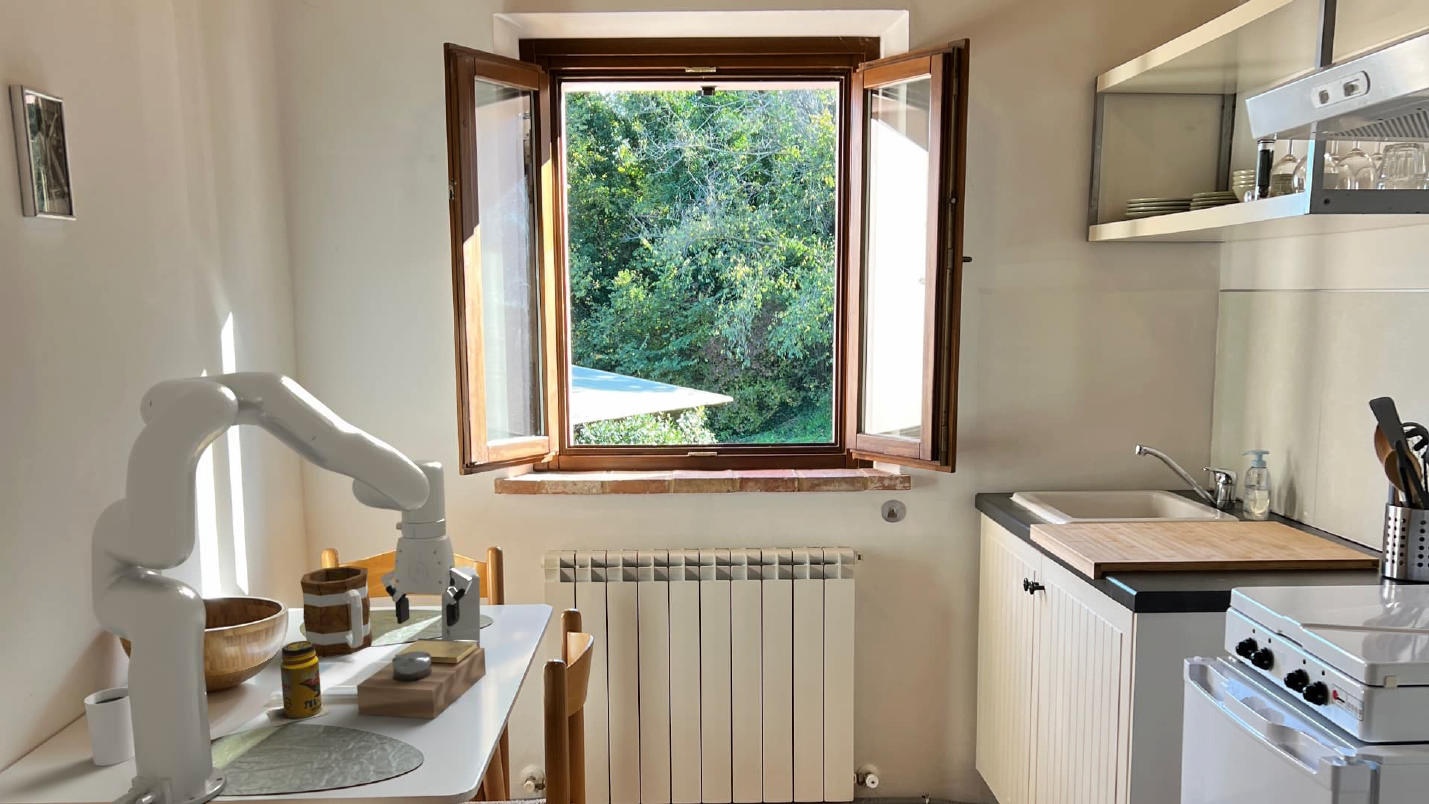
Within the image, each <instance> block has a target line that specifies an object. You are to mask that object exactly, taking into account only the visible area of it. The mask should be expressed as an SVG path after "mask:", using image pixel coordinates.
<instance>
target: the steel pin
mask: <svg viewBox="0 0 1429 804" xmlns="http://www.w3.org/2000/svg"><path fill="white" fill-rule="evenodd" d="M391 662H392V666H393V678H394V680H396V681H400V682H411V681H419V680H421V679H424V678H426V677H428V676H429V675H431V673H432V670H431V655H430V654H429V653H427V652H419V651H418V652H408V653H404V654H400V655H398V656H395V657H393V658H392V659H391Z"/></svg>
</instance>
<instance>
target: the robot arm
mask: <svg viewBox="0 0 1429 804" xmlns="http://www.w3.org/2000/svg"><path fill="white" fill-rule="evenodd" d="M139 412H140V416H141V419H142V420H143V423H144V424H145V426H144V427H143V428H142V430H141V431H140V432H139V434H138V436H137V437H136V438H135V441H134V442H133V445H132V446H131V448H130V452H129V456H128V460H127V465H126V466H127V467H126V482H125V496H124V498H121V499H120V498H119V499H118V500H116V501H113V502H112V503H110V504H109V505H108V506H106V508H104V509H103V511H102V512H101V513H100V514H99V516H98V518H97V520H96V522H95V524H94V527H93V530H92V535H91V548H90V549H91V551H90V552H91V553H90V554H91V559H90V560H91V561H90V562H91V565H90V566H91V604H92V610H93V615H94V617H95V620H96V622H97V623H98V625H99V626H101V628H102V629H104V630H105V631H106V632H108V633H110V634H111V635H114V636H116V637H119V638H122V639H125V640H127V641H129V642H130V649H131V650H130V657H129V660H128V667H127V688H128V693H129V699H130V709H131V720H132V730H133V740H134V751H135V756H134V758H135V759H134V761H135V769H136V770H135V771H136V776H134V777H132V778H131V787H130V788H129V789H128V790H127V791H128V792H126V793H124V794H122V795H121V796H120V797H118V798H116V799H115V800H114V801H112V802H111V804H204V803H207V801H210V800H212V799H213V798H215V796H218V795H219V794H220V793H221V792H222V791H223V790H224V788H225V787H226V784H227V776H226V773H225V771H223V770H222V769H221V768H219V767H215V766H213V751H212V743H211V730H210V728H211V727H210V719H209V717H210V716H209V706H208V696H207V694H208V693H207V685H206V683H207V682H206V677H205V665H204V664H205V663H204V645H205V643H204V642H205V630H206V624H207V623H206V622H207V613H206V606H205V603H204V600H203V598H202V596H201V595H200V594H199V593H198V591H197V590H196V589H194V588H193V587H192V586H191V585H189V584H187V583H186V582H184V581H181V580H179V579H175V578H171V577H167V576H164V575H163V574H162V572H163V570H170V569H173V568H174V569H175V568H176V567H177V568H178V567H179V566H181V565H182V564H184V563H185V562H186V561H187V560H188V559H189V558H190V556H191V554H192V553H193V551H194V547H195V543H196V493H195V492H196V477H197V476H196V475H197V469H198V464H199V461H200V459H201V457H202V455H203V454H204V452H205V451H206V450H207V448H209V446H210V445H211V444H213V442H214V441H215V440H217V439H218V438H220V437H221V436H222V435H224V434H225V433H226V432H227V431H229V429H230V428H231V427H234V426H241V425H242V426H243V425H246V426H247V425H248V426H257V427H259V428H261V429H263V430H264V431H266V432H267V433H269V434H270V435H272V436H273V437H275V438H276V439H277V440H279V442H282V443H283V444H284V445H286V446H287V447H288V448H289V449H291V450H292V451H293V452H295V453H296V454H297V455H298V456H300V457H301V458H303V459H304V460H305V461H307V462H309V463H311V464H313V465H315V466H316V467H318V468H322V469H324V470H326V471H330V472H332V473H337V474H341V475H344V476H347V477H350V478H352V479H353V480H352V483H351V490H352V493H353V496H354V497H355V500H357V501H358V502H359V503H360V504H362V505H363V506H364V505H365V506H366V507H370V508H375V509H380V510H390V511H397V512H401V521H400V522H398V521H397V522H396V525H395V529H396V530H397V531H399V530H400V531H401V535H402V536H399V537H398V538H397V542H396V548H395V549H396V550H395V555H394V569H393V570H390V571H388V573H385V574H384V575H382V576H381V577H380V580H381V582H382V584H383V586H384V587H385V591H386V593H387V594H388V595H389V597H391V600H392V602H393V603H394V604H395V618H396V619H397V622H396V623H397V624H398V625H402V624H403V623H406V622H407V621H409V620H410V616H411V615H410V600H409V597H407V595H418V596H419V595H421V596H442V595H443V596H444V597H445V598H446V599H447V601H448V602H449V604H447V605H446V615H447V626H453V625H454V624H456V623H457V622H458V620H459V618H460V609H459V601H460V600H461V599H462V598H463V597H464V596H465V594H466V593H467V592H468V589H469V587H470V585H471V583H472V578H470V577H468V576H467V575H465V574H463V573H461V572H460V571H458V570H456V569H455V567H456V561H455V556H454V555H455V554H454V550H453V549H454V548H453V545H452V542H451V537H450V535H448V534H447V525H446V524H447V523H446V521H447V520H446V519H447V518H446V500H445V497H446V495H445V494H446V493H445V479H444V478H445V475H444V474H445V472H444V466H443V464H442V463H441V462H440V461H438V460H433V459H420V460H410V459H409V458H407V456H405V455H404V454H403V453H401V452H400V451H398V449H395V448H394V447H392V446H391V445H389V444H387V443H385V442H383V441H382V440H380V439H378V438H376V437H375V436H372V435H371V434H369V433H367V432H365V431H363V430H362V429H360V428H358V427H356V426H355V425H352V424H350V423H349V422H347V421H345V420H344V419H343V418H341V417H340V416H339V415H337V413H335V412H334V411H333V410H331V409H330V408H329V407H327V406H326V405H325V404H324V403H322V402H321V401H320V400H319V399H318V398H316V397H315V396H313V395H312V393H310V392H309V391H307V390H306V389H305V388H304V387H302V386H301V385H300V384H299V383H297V382H296V381H295V380H293V379H292V378H290V377H289V376H287V375H285V374H282V373H279V372H274V371H239V372H231V373H223V374H214V375H207V376H195V377H193V376H192V377H185V378H174V379H166V380H162V381H159V382H156V383H155V384H153V385H152V386H151V387H149V389H147V391H146V392H145V393H144V394H143V396H142V397H141V400H140V405H139ZM456 580H457V581H459V582H460V583H461V587H460V589H459V590H458V591H457V589H456V588H455V585H456Z"/></svg>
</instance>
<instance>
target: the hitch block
mask: <svg viewBox="0 0 1429 804" xmlns="http://www.w3.org/2000/svg"><path fill="white" fill-rule="evenodd" d="M485 651H486V650H485V647H480V648H476V649H475V650H474V651H472V652H471V653H470V654H468V655H467V656H466V657H465V658H463V659H462V660H461V661H459V662H458V663H445V662H431V670H432V673H431V675H429V676H428V677H426V678H424V679H421V680H419V681H411V682H400V681H396V680H394V678H393V666H392V661H391V662H389V663H388V664H386V665H385V666H384V667H383V666H382V668H381V669H379V670H377V671H376V672H375V673H373V674H372V675H370V676H369V677H368V678H366V679H365V680H363V681H362V682H361V683H358V685H356V691H357V692H356V693H357V705H358V706H357V708H358V714H359V715H361V716H363V715H365V716H379V717H380V716H381V717H395V718H396V717H397V718H398V717H399V718H413V719H414V718H415V719H431V720H434V719H436V718H438V716H439V715H441V714H443V712H444V711H445V710H447V709H448V708H449V707H450V706H451V705H452V704H453V703H454V702H456V700H458V699H459V698H460V697H461V696H462V695H463V694H465V693H466V692H467V691H468V690H469V689H470V688H472V687H473V686H474V685H475V684H476V683H477V682H479V681H480V679H482V678H483V677H484V676H485V675H486V674H487V671H486V654H485Z"/></svg>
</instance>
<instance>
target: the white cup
mask: <svg viewBox="0 0 1429 804" xmlns="http://www.w3.org/2000/svg"><path fill="white" fill-rule="evenodd" d="M83 701H84V709H85V714H86V718H87V719H86V720H87V726H88V732H89V738H90V745H91V751H92V757H93V764H94V765H96V766H103V767H107V766H114V765H117V764H121V763H124V762H126V761H128V760H131V759H132V758H135V751H134V740H133V730H132V720H131V709H130V699H129V693H128V687H122V686H121V687H112V688H107V689H103V690H100V691H97V692H94V693H92V694H90V695H88V696H87V697H86V698H85V699H84V700H83Z"/></svg>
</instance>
